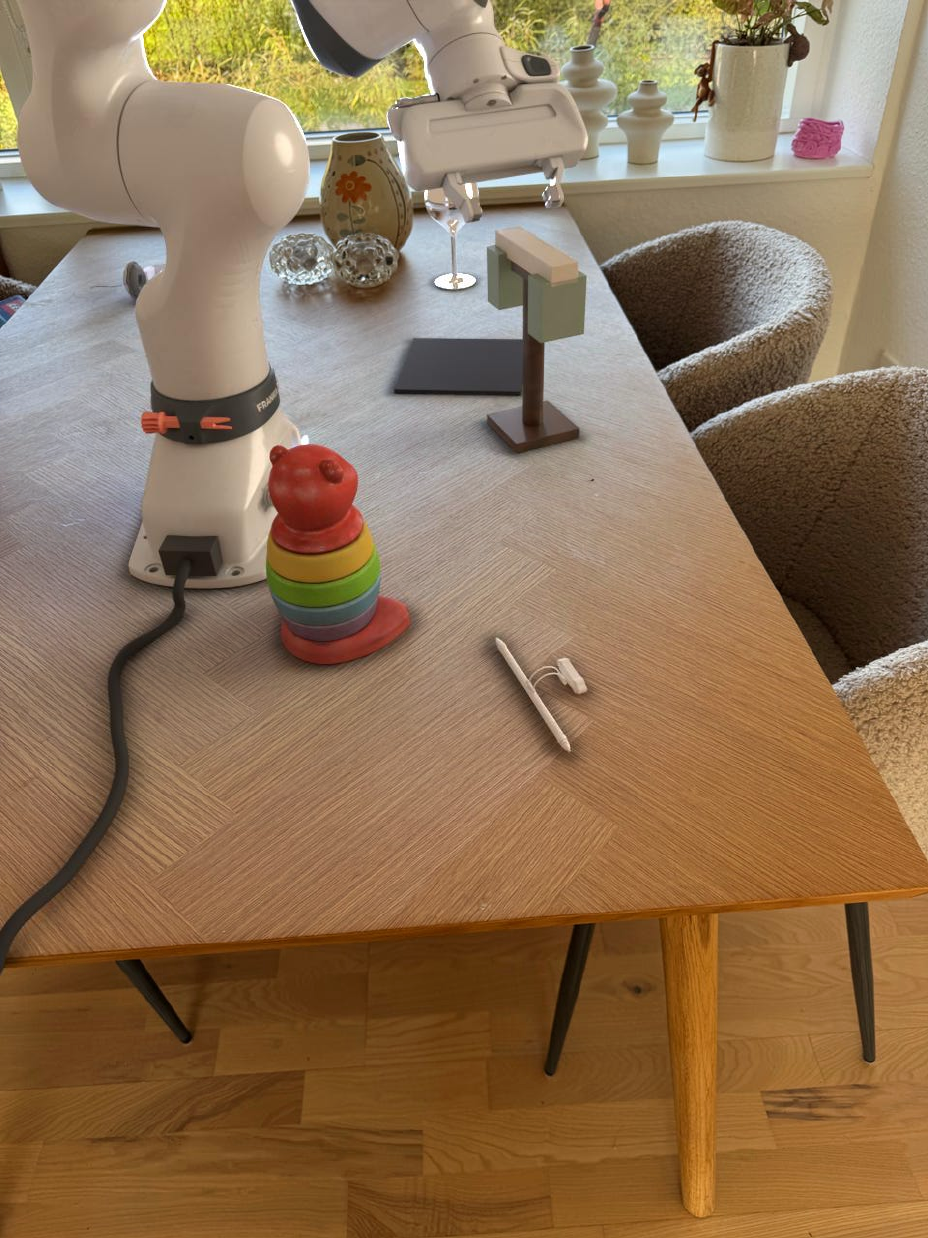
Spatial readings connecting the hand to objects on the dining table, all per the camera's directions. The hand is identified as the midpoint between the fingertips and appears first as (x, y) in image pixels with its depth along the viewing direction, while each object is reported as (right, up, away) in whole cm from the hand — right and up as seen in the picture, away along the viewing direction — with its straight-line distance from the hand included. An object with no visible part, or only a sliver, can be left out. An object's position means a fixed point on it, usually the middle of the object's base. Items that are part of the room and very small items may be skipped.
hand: (515, 212), depth 96 cm
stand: (+3, -20, +12) cm, 24 cm away
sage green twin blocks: (+2, -10, +3) cm, 11 cm away
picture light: (+2, -48, -22) cm, 53 cm away
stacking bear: (-17, -43, -15) cm, 49 cm away
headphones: (-52, +10, +51) cm, 74 cm away
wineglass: (-7, +11, +50) cm, 52 cm away
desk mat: (-5, -9, +26) cm, 28 cm away
